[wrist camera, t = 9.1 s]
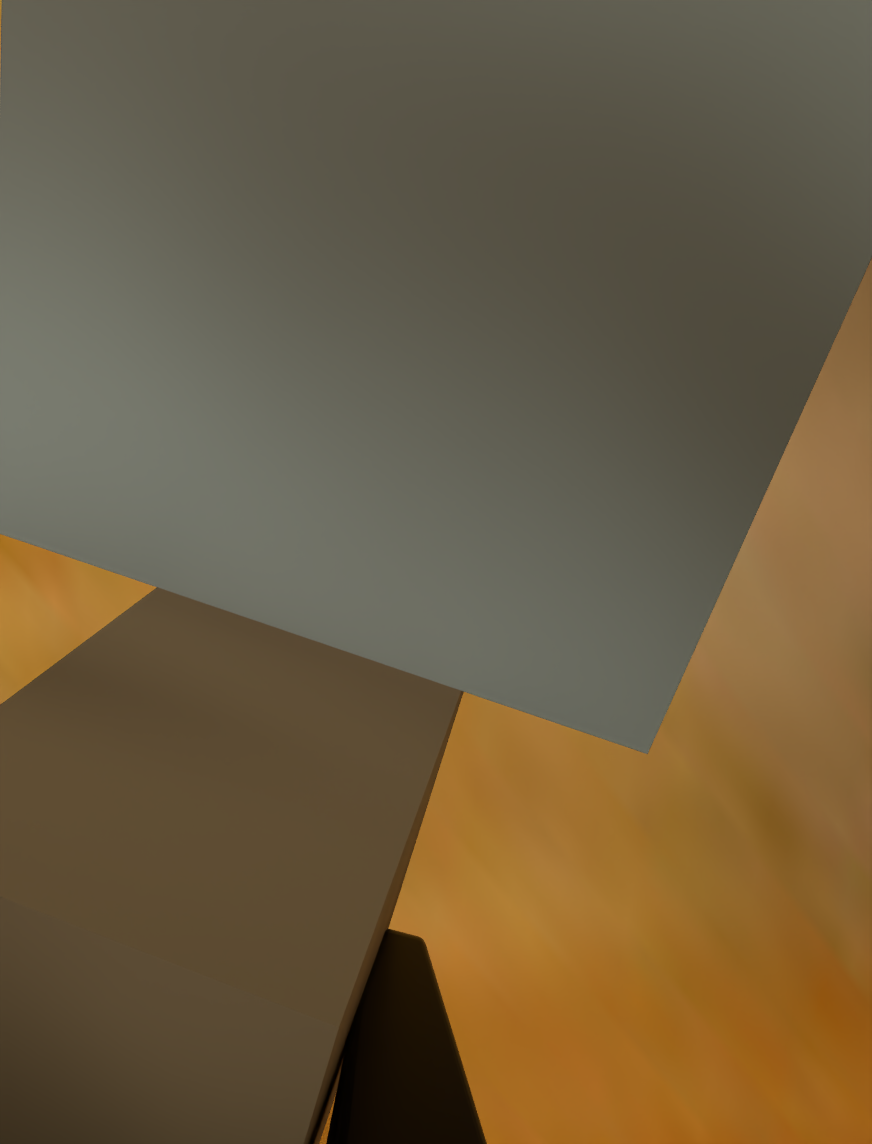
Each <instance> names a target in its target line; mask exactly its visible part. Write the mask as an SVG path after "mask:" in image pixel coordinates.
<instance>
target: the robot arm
mask: <svg viewBox="0 0 872 1144" xmlns="http://www.w3.org/2000/svg"><path fill="white" fill-rule="evenodd" d="M326 1144H487V1143H486V1140H485V1136H484V1133H483V1130H482V1127H481V1123H480V1120H479V1117H478V1113H477V1110H476V1107H475V1104H474V1100H473V1097H472V1094H471V1091H470V1087H469V1084H468V1081H467V1078H466V1074H465V1071H464V1068H463V1064H462V1061H461V1058H460V1055H459V1051H458V1048H457V1045H456V1042H455V1038H454V1035H453V1032H452V1029H451V1025H450V1022H449V1019H448V1015H447V1012H446V1009H445V1006H444V1002H443V999H442V996H441V993H440V989H439V986H438V983H437V980H436V976H435V973H434V970H433V967H432V963H431V960H430V957H429V953H428V950H427V947H426V944H425V942H424V940H423V939H422V938H420V937H418V936H414V935H410V934H406V933H403V932H399V931H395V930H391V929H387V930H386V931H385V933H384V936H383V939H382V942H381V944H380V947H379V950H378V953H377V955H376V958H375V961H374V964H373V966H372V969H371V972H370V974H369V977H368V980H367V983H366V985H365V988H364V991H363V994H362V996H361V999H360V1002H359V1005H358V1007H357V1010H356V1013H355V1016H354V1019H353V1021H352V1024H351V1027H350V1030H349V1033H348V1037H347V1041H346V1046H345V1051H344V1057H343V1062H342V1067H341V1072H340V1077H339V1082H338V1087H337V1092H336V1097H335V1102H334V1107H333V1113H332V1118H331V1123H330V1128H329V1133H328V1138H327V1143H326Z"/></svg>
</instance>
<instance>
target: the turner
mask: <svg viewBox="0 0 872 1144" xmlns="http://www.w3.org/2000/svg"><path fill="white" fill-rule="evenodd" d="M871 258H872V0H2V17H1V72H0V534H2V535H5V536H8V537H11V538H14V539H17V540H20V541H23V542H26V543H29V544H32V545H35V546H38V547H41V548H44V549H47V550H49V551H52V552H55V553H58V554H61V555H64V556H67V557H70V558H73V559H76V560H79V561H82V562H85V563H88V564H91V565H94V566H96V567H99V568H102V569H105V570H108V571H111V572H114V573H117V574H120V575H123V576H126V577H129V578H132V579H135V580H138V581H141V582H144V583H146V584H149V585H152V586H155V587H157V588H156V589H154V590H153V591H152V592H150V593H149V594H148V595H146V596H145V597H144V598H142V599H141V600H140V601H138V602H137V603H136V604H134V605H133V606H132V607H130V608H129V609H128V610H126V611H125V612H124V613H122V614H121V615H120V616H118V617H117V618H116V619H114V620H113V621H112V622H110V623H109V624H108V625H106V626H105V627H104V628H102V629H101V630H100V631H98V632H97V633H96V634H94V635H93V636H92V637H90V638H89V639H88V640H86V641H85V642H84V643H82V644H81V645H80V646H78V647H77V648H76V649H74V650H73V651H72V652H70V653H69V654H68V655H66V656H65V657H64V658H62V659H61V660H60V661H58V662H57V663H56V664H54V665H53V666H52V667H50V668H49V669H48V670H46V671H45V672H44V673H42V674H41V675H40V676H38V677H37V678H36V679H34V680H33V681H32V682H30V683H29V684H28V685H26V686H25V687H23V688H22V689H21V690H19V691H18V692H17V693H15V694H14V695H13V696H11V697H10V698H9V699H7V700H6V701H5V702H3V703H2V704H1V705H0V1144H319V1142H320V1139H321V1136H322V1133H323V1130H324V1127H325V1124H326V1122H327V1119H328V1116H329V1113H330V1110H331V1107H332V1104H333V1101H334V1097H335V1094H336V1091H337V1087H338V1082H339V1077H340V1072H341V1067H342V1062H343V1057H344V1051H345V1046H346V1041H347V1037H348V1033H349V1030H350V1027H351V1024H352V1021H353V1019H354V1016H355V1013H356V1010H357V1007H358V1005H359V1002H360V999H361V996H362V994H363V991H364V988H365V985H366V983H367V980H368V977H369V974H370V972H371V969H372V966H373V964H374V961H375V958H376V955H377V953H378V950H379V947H380V944H381V942H382V939H383V936H384V933H385V931H386V930H387V929H388V928H389V924H390V921H391V918H392V915H393V912H394V909H395V906H396V902H397V899H398V896H399V893H400V890H401V887H402V884H403V880H404V877H405V874H406V871H407V868H408V865H409V862H410V858H411V855H412V852H413V849H414V846H415V843H416V840H417V836H418V833H419V830H420V827H421V824H422V821H423V818H424V814H425V811H426V808H427V805H428V802H429V799H430V796H431V792H432V789H433V786H434V783H435V780H436V777H437V773H438V770H439V767H440V764H441V761H442V758H443V755H444V751H445V748H446V745H447V742H448V739H449V736H450V733H451V729H452V726H453V723H454V720H455V717H456V714H457V711H458V707H459V704H460V701H461V698H462V695H463V692H467V693H470V694H473V695H476V696H479V697H482V698H484V699H487V700H490V701H493V702H496V703H499V704H502V705H505V706H508V707H511V708H514V709H517V710H520V711H523V712H526V713H529V714H531V715H534V716H537V717H540V718H543V719H546V720H549V721H552V722H555V723H558V724H561V725H564V726H567V727H570V728H573V729H576V730H579V731H581V732H584V733H587V734H590V735H593V736H596V737H599V738H602V739H605V740H608V741H611V742H614V743H617V744H620V745H623V746H626V747H628V748H631V749H634V750H637V751H640V752H643V753H646V754H648V752H649V749H650V747H651V745H652V743H653V741H654V738H655V736H656V734H657V732H658V729H659V727H660V725H661V723H662V721H663V718H664V716H665V714H666V712H667V710H668V707H669V705H670V703H671V701H672V698H673V696H674V694H675V692H676V690H677V687H678V685H679V683H680V681H681V679H682V676H683V674H684V672H685V670H686V667H687V665H688V663H689V661H690V659H691V656H692V654H693V652H694V650H695V648H696V645H697V643H698V641H699V639H700V637H701V634H702V632H703V630H704V628H705V625H706V623H707V621H708V619H709V617H710V614H711V612H712V610H713V608H714V606H715V603H716V601H717V599H718V597H719V594H720V592H721V590H722V588H723V586H724V583H725V581H726V579H727V577H728V575H729V572H730V570H731V568H732V566H733V563H734V561H735V559H736V557H737V555H738V552H739V550H740V548H741V546H742V544H743V541H744V539H745V537H746V535H747V533H748V530H749V528H750V526H751V524H752V521H753V519H754V517H755V515H756V513H757V510H758V508H759V506H760V504H761V502H762V499H763V497H764V495H765V493H766V490H767V488H768V486H769V484H770V482H771V479H772V477H773V475H774V473H775V471H776V468H777V466H778V464H779V462H780V459H781V457H782V455H783V453H784V451H785V448H786V446H787V444H788V442H789V440H790V437H791V435H792V433H793V431H794V429H795V426H796V424H797V422H798V420H799V417H800V415H801V413H802V411H803V409H804V406H805V404H806V402H807V400H808V398H809V395H810V393H811V391H812V389H813V386H814V384H815V382H816V380H817V378H818V375H819V373H820V371H821V369H822V367H823V364H824V362H825V360H826V358H827V355H828V353H829V351H830V349H831V347H832V344H833V342H834V340H835V338H836V336H837V333H838V331H839V329H840V327H841V324H842V322H843V320H844V318H845V316H846V313H847V311H848V309H849V307H850V305H851V302H852V300H853V298H854V296H855V294H856V291H857V289H858V287H859V285H860V282H861V280H862V278H863V276H864V274H865V271H866V269H867V267H868V265H869V263H870V260H871Z"/></svg>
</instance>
